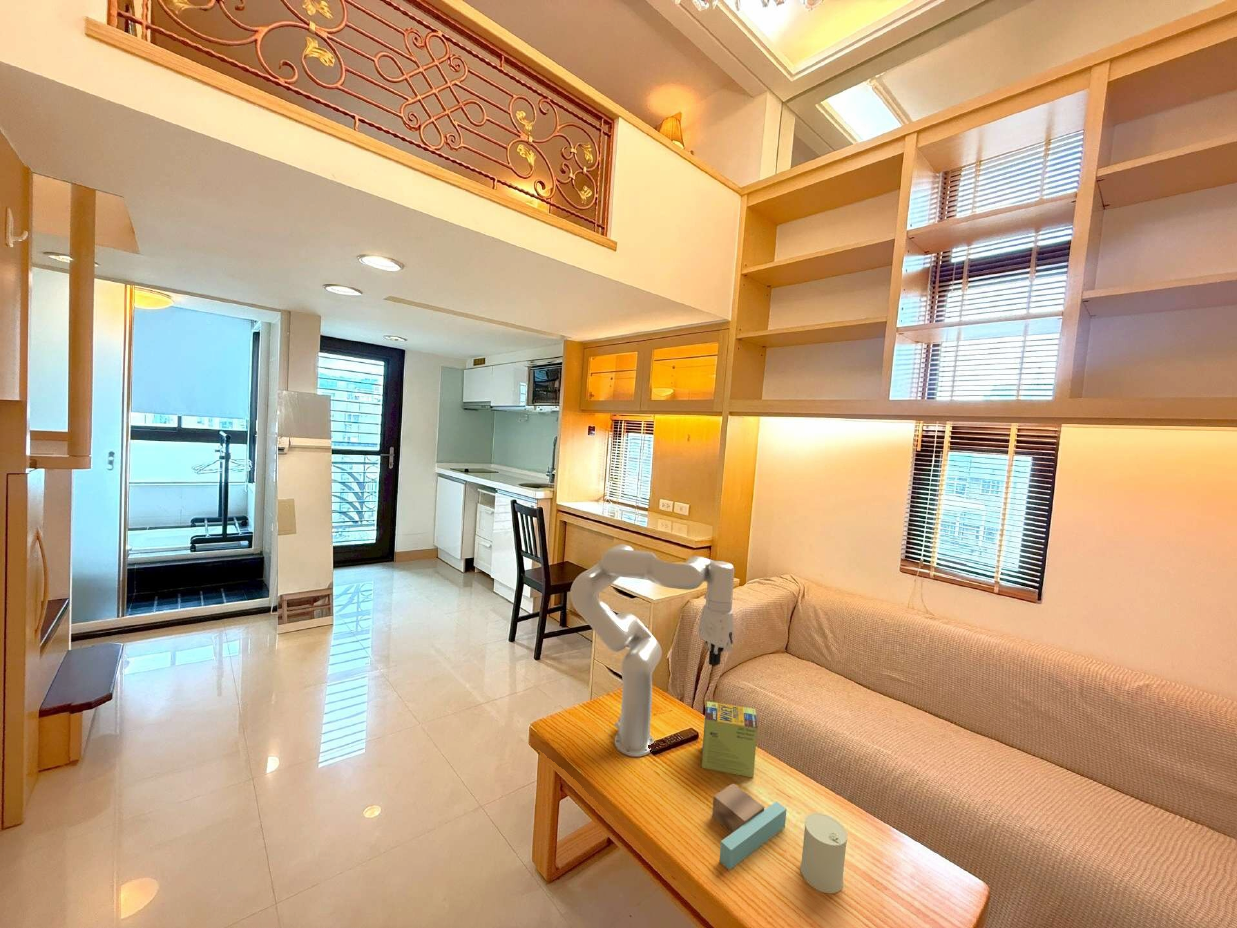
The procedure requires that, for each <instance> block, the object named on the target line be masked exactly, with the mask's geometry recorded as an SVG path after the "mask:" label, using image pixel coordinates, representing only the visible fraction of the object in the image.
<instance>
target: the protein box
mask: <svg viewBox="0 0 1237 928" xmlns="http://www.w3.org/2000/svg"><path fill="white" fill-rule="evenodd" d="M704 712H705V714H704V725H703V735H702V737H703V739H702V752H701V768H703V769H707V770H712V771H718V772H722V773H728V774H731V775H738V776H743V777H747V778H754V773H755V765H756V763H755V759H756V750H757V749H756V748H757V739H758V738H757V737H758V727H759V726H758V720H757V713H756V708H752V707H745V706H740V705H733V704H726V703H722V702H721V703H720V702H714V701H705V711H704Z"/></svg>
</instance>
